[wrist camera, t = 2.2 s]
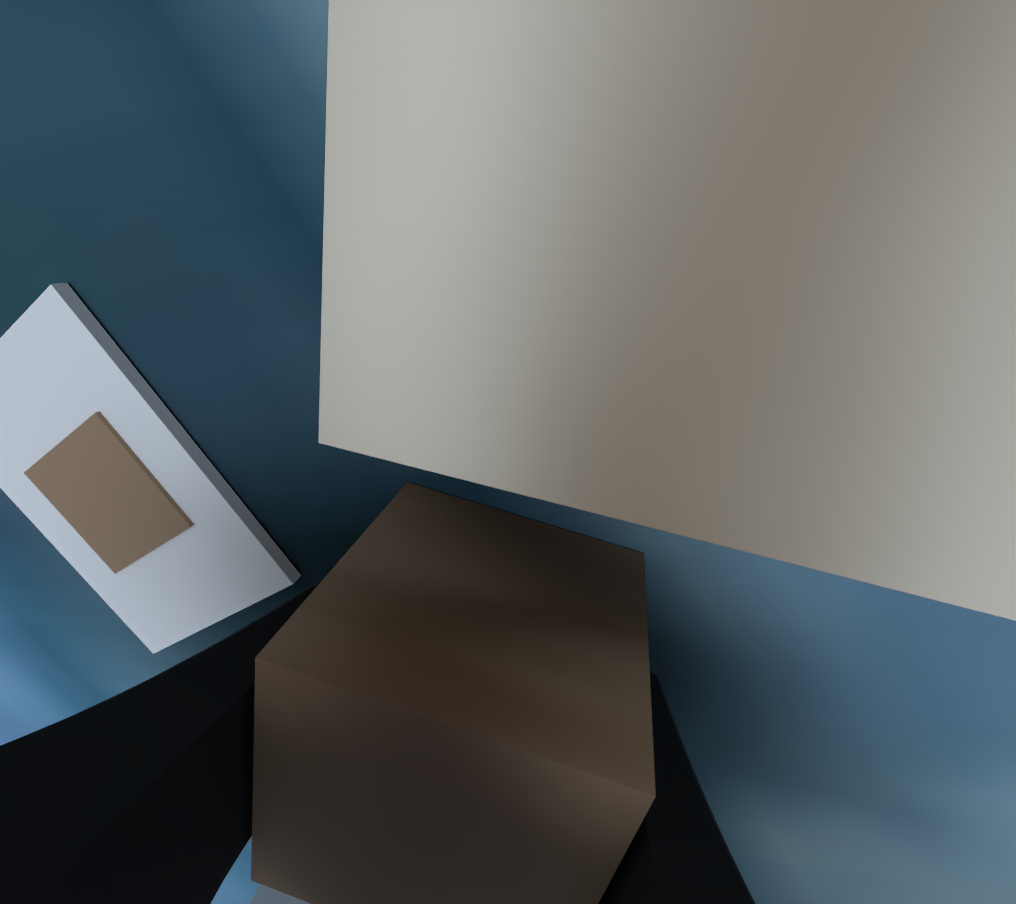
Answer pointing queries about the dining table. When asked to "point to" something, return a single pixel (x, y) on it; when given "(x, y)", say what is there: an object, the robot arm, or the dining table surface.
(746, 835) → the dining table surface
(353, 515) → the dining table surface
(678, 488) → the birch base block
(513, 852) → the walnut block
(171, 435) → the card
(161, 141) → the dining table surface
